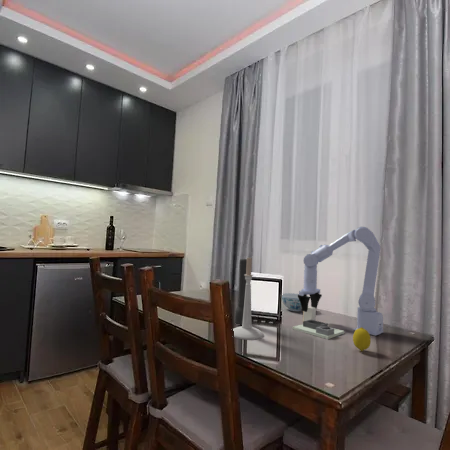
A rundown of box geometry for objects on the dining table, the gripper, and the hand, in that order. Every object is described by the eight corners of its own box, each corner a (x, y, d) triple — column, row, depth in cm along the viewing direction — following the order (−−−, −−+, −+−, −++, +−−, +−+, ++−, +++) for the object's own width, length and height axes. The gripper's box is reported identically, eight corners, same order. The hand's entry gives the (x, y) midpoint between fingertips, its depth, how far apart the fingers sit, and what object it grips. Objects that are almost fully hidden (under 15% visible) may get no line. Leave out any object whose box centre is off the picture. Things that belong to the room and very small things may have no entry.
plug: (315, 323, 141) (315, 307, 141) (311, 324, 139) (311, 308, 139) (305, 320, 145) (305, 305, 145) (301, 321, 142) (302, 306, 143)
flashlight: (250, 326, 131) (250, 322, 138) (252, 260, 133) (253, 259, 140) (234, 325, 132) (235, 321, 139) (236, 259, 133) (237, 258, 140)
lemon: (355, 347, 109) (355, 324, 110) (372, 351, 106) (372, 327, 106) (350, 351, 105) (350, 327, 106) (367, 355, 102) (368, 330, 102)
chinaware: (312, 309, 170) (312, 295, 170) (303, 314, 157) (304, 299, 157) (286, 305, 178) (286, 292, 178) (276, 310, 165) (276, 295, 165)
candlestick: (265, 332, 124) (267, 256, 126) (260, 341, 112) (263, 258, 113) (234, 328, 127) (237, 255, 129) (226, 337, 115) (229, 256, 117)
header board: (344, 333, 126) (344, 325, 126) (327, 339, 118) (327, 330, 118) (310, 324, 138) (310, 316, 138) (292, 329, 129) (292, 320, 130)
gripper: (311, 278, 150) (310, 306, 149) (293, 280, 140) (292, 310, 140) (324, 280, 145) (323, 309, 144) (307, 282, 135) (306, 313, 134)
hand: (309, 310), depth 142 cm, fingers open, 7 cm apart
